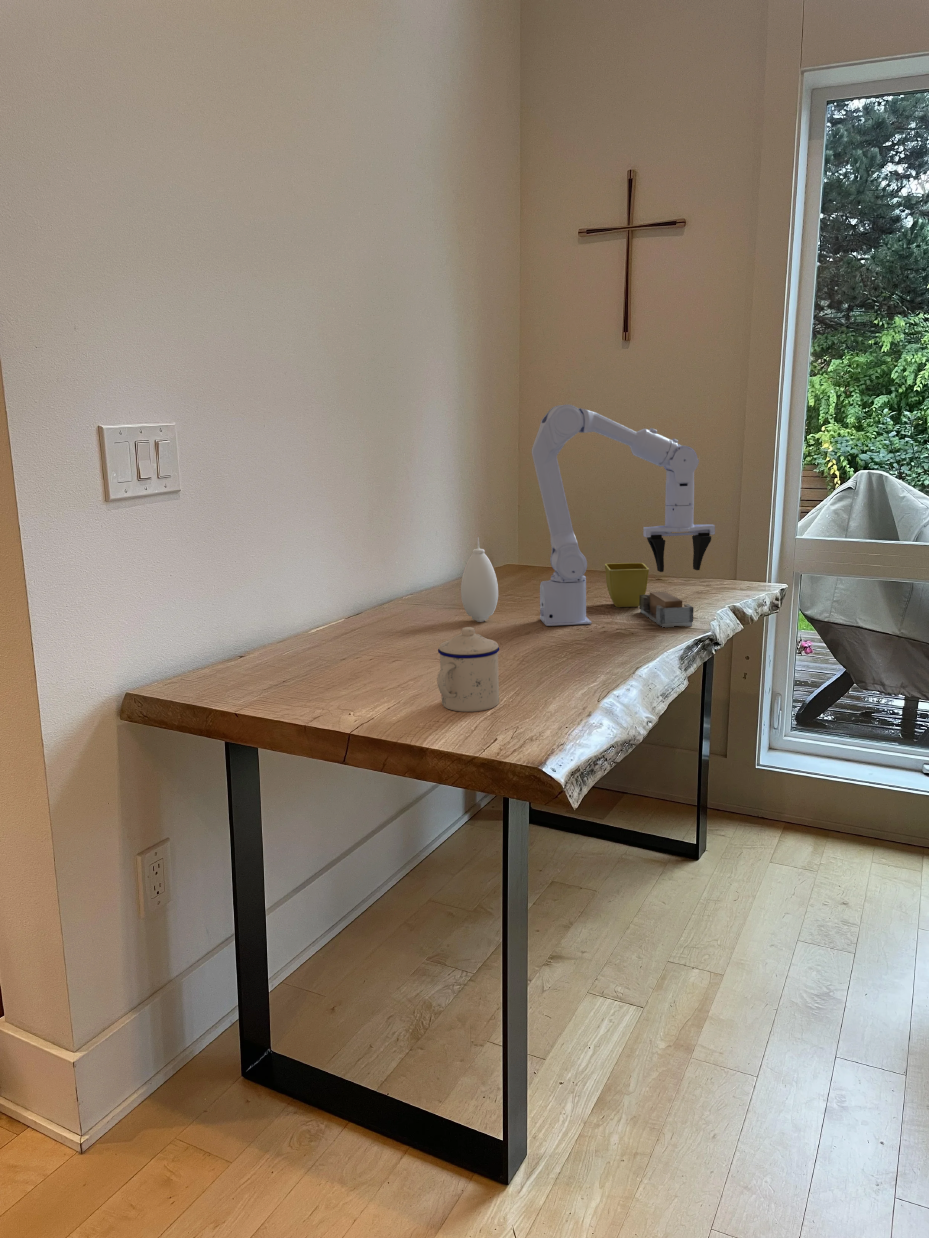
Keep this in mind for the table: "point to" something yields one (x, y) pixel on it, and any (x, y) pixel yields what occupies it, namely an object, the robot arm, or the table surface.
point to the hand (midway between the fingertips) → (678, 570)
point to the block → (663, 600)
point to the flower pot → (626, 583)
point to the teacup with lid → (468, 672)
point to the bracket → (667, 613)
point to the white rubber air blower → (479, 586)
